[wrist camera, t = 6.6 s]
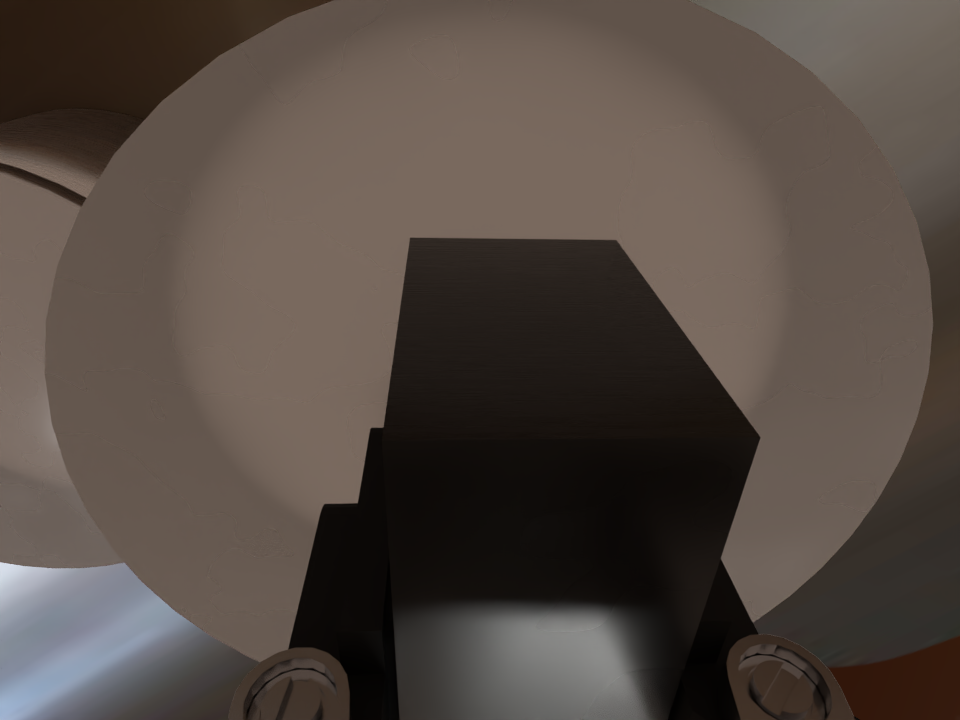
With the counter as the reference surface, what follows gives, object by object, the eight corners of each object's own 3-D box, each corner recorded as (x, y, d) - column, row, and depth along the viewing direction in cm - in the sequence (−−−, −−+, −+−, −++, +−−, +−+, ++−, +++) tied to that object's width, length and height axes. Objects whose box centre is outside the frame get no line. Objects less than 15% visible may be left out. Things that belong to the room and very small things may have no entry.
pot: (404, 372, 32) (390, 512, 23) (176, 495, 35) (91, 655, 27) (56, -73, 22) (-198, -117, 13) (-218, 161, 25) (-561, 249, 16)
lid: (1049, -7, 9) (1902, -19, 4) (765, 653, 17) (910, 945, 12) (-73, -50, 8) (-1045, -148, 3) (183, 671, 16) (57, 998, 11)
